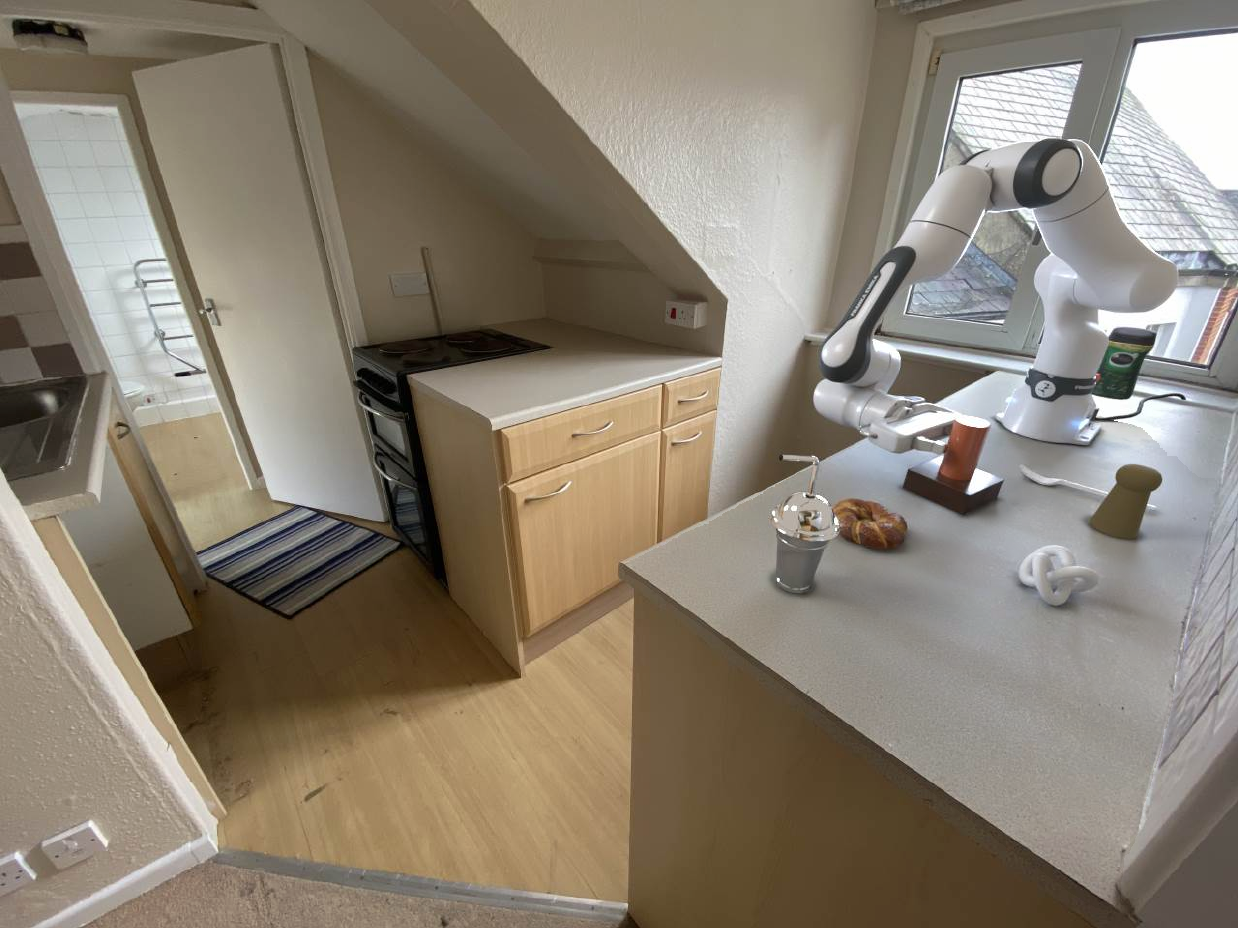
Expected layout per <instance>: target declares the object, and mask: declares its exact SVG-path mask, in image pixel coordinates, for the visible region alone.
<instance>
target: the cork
mask: <svg viewBox="0 0 1238 928" xmlns="http://www.w3.org/2000/svg"><path fill="white" fill-rule="evenodd" d="M1115 482H1116V483H1115V484H1114V486H1113V487H1112V488H1111V489H1110V491H1109V492H1108V493H1109V494H1108V495H1107V497H1104V498H1103V499H1104V500H1102V502H1101V504H1100V505H1099V507H1098V508H1097V509H1096V510H1095V512H1094V513H1093V515H1092V516H1091V518H1090V519H1089V521H1088V524H1089V525H1090V526H1091V527H1093V528H1094V529H1095V530H1097V531H1098V532H1101V533H1102V534H1105V535H1108V536H1111V537H1115V538H1119V539H1125V540H1126V539H1128V540H1132V539H1136V538H1137V537H1138V535H1139V532H1140V529H1141V525H1142V523H1143V522H1142V521H1143V519H1144V516H1145V513H1146V510H1147V508H1146V507H1147V504H1149V500H1150V497H1151V494H1152V492H1155V491H1156V490H1158V488H1160V487H1161V485H1162V483H1163V476H1162V474H1161V472H1160V471H1158V470H1157V469H1155V468H1152V467H1150V466H1146V465H1143V464H1137V463H1128V464H1123V465H1121V466H1120V467H1119V468H1118V470H1117V471H1116V472H1115Z"/></svg>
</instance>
